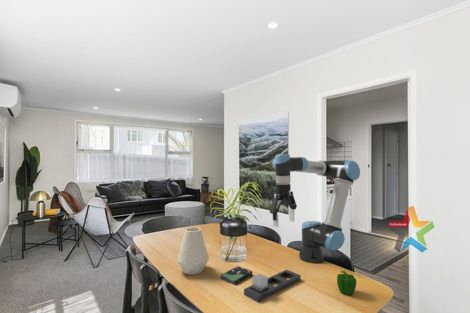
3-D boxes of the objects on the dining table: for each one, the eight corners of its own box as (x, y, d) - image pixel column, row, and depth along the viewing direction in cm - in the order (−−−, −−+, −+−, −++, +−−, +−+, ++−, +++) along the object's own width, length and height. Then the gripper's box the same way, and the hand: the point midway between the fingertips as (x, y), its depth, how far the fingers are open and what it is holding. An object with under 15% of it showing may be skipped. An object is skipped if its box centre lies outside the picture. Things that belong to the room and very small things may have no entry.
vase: (213, 266, 152) (213, 226, 152) (201, 279, 135) (201, 235, 135) (185, 262, 157) (186, 224, 157) (171, 275, 140) (171, 232, 140)
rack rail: (286, 274, 142) (286, 269, 142) (300, 280, 135) (300, 275, 135) (243, 294, 120) (243, 289, 120) (257, 302, 114) (257, 296, 114)
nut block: (259, 290, 125) (259, 273, 125) (267, 294, 121) (267, 276, 121) (252, 293, 121) (252, 276, 121) (260, 298, 117) (260, 280, 118)
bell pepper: (358, 292, 123) (358, 270, 123) (353, 299, 117) (353, 276, 117) (340, 286, 129) (340, 266, 129) (334, 292, 122) (334, 271, 122)
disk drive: (237, 270, 147) (219, 279, 136) (237, 265, 147) (220, 274, 136) (252, 276, 141) (235, 286, 129) (252, 270, 141) (235, 280, 129)
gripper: (291, 180, 147) (292, 218, 148) (261, 185, 131) (263, 227, 131) (302, 181, 142) (303, 220, 142) (273, 186, 125) (274, 230, 125)
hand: (284, 223), depth 136 cm, fingers open, 13 cm apart
